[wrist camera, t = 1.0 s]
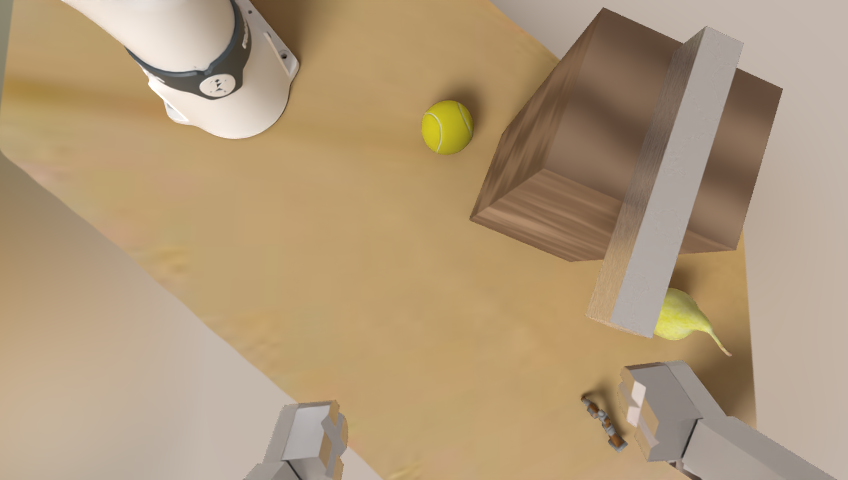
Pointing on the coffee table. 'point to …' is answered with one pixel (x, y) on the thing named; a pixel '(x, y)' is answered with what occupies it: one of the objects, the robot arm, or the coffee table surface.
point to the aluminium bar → (664, 184)
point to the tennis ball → (447, 127)
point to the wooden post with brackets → (606, 425)
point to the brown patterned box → (615, 148)
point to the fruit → (682, 318)
